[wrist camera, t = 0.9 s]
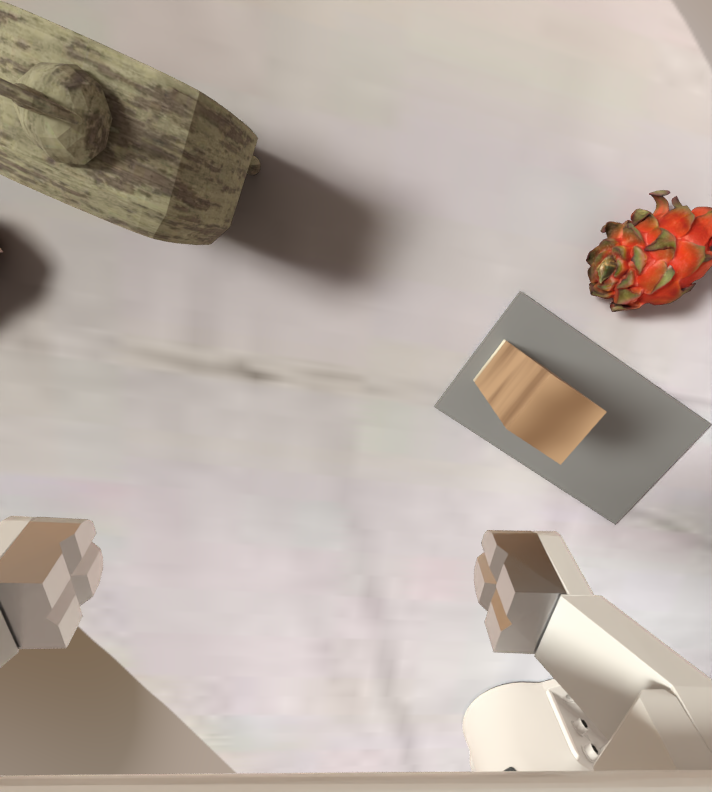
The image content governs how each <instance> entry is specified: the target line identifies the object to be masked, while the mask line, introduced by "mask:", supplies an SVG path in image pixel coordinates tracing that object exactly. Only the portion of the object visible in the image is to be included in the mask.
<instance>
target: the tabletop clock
mask: <svg viewBox="0 0 712 792" xmlns="http://www.w3.org/2000/svg"><path fill="white" fill-rule="evenodd" d="M257 140H258V138H257V136H256V135H255V134H254V133H253V131H252V130H251V129H250V128H249V127H248V126H247V125H245V124H244V123H243V122H242V121H241V120H239V119H238V118H237V117H236V116H234V115H233V114H232V113H231V112H229V111H228V110H227V109H225V108H224V107H223V106H221V105H220V104H218V103H217V102H216V101H214V100H213V99H211V98H209V97H208V96H206V95H205V94H203V93H202V92H200V91H198V90H196V89H195V88H193V87H191V86H189V85H187V84H185V83H183V82H181V81H179V80H177V79H175V78H173V77H171V76H169V75H167V74H165V73H163V72H161V71H158V70H156V69H154V68H152V67H150V66H148V65H146V64H144V63H141V62H139V61H137V60H135V59H133V58H131V57H128V56H126V55H124V54H122V53H120V52H118V51H115V50H113V49H111V48H109V47H107V46H105V45H102V44H100V43H98V42H96V41H94V40H92V39H90V38H87V37H85V36H83V35H80V34H78V33H76V32H74V31H71V30H69V29H67V28H64V27H62V26H60V25H58V24H55V23H53V22H51V21H49V20H46V19H44V18H42V17H39V16H37V15H35V14H33V13H30V12H28V11H26V10H23V9H21V8H18V7H16V6H13V5H11V4H8V3H5V2H2V1H0V174H1V175H3V176H5V177H7V178H9V179H11V180H13V181H16V182H18V183H20V184H22V185H25V186H27V187H29V188H32V189H34V190H36V191H38V192H41V193H43V194H45V195H48V196H50V197H52V198H54V199H57V200H59V201H61V202H63V203H66V204H68V205H71V206H73V207H75V208H78V209H80V210H82V211H85V212H87V213H90V214H92V215H94V216H97V217H99V218H102V219H104V220H106V221H109V222H111V223H113V224H116V225H118V226H121V227H123V228H126V229H128V230H131V231H133V232H136V233H139V234H142V235H144V236H147V237H150V238H153V239H157V240H162V241H167V242H173V243H181V244H193V245H209V244H212V243H213V242H214V241H215V240H216V239H217V238H218V237H219V236H221V235H222V234H223V233H224V232H225V231H226V230H227V229H228V228H230V225H231V222H232V219H233V215H234V212H235V209H236V206H237V203H238V200H239V197H240V193H241V190H242V187H243V184H244V181H245V178H246V174H247V173H248V174H250V175H255V174H257V173H258V172H259V171H260V167H261V165H260V162H259V159H257V158H256V157H255V156H252V155H253V152H254V149H255V146H256V143H257Z"/></svg>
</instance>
